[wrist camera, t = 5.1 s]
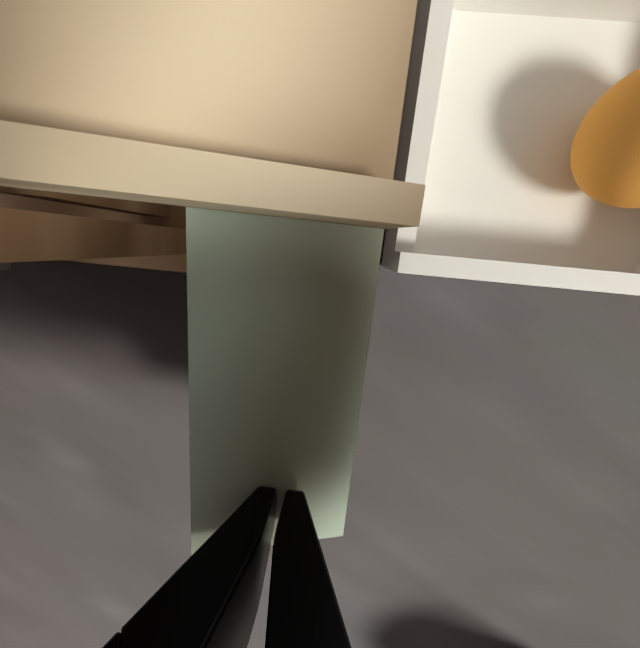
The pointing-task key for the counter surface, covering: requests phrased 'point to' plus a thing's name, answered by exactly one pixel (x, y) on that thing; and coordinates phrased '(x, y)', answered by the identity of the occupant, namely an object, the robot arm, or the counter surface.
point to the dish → (513, 143)
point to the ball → (611, 146)
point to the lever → (236, 202)
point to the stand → (90, 230)
